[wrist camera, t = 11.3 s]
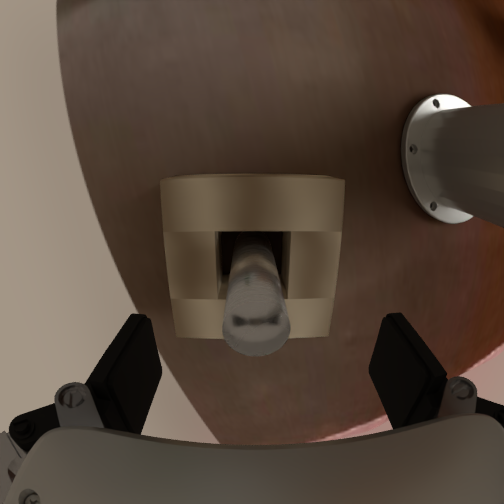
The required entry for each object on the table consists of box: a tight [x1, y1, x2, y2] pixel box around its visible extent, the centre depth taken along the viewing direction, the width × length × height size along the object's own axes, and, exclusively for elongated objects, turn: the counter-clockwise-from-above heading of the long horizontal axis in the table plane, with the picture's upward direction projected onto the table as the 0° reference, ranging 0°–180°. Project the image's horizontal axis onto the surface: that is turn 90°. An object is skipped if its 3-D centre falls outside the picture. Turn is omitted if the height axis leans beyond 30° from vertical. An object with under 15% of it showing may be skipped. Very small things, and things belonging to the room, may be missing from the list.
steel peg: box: [222, 231, 291, 356], centre depth 18 cm, size 3×3×12 cm
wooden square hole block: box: [160, 173, 345, 339], centre depth 21 cm, size 12×12×4 cm
